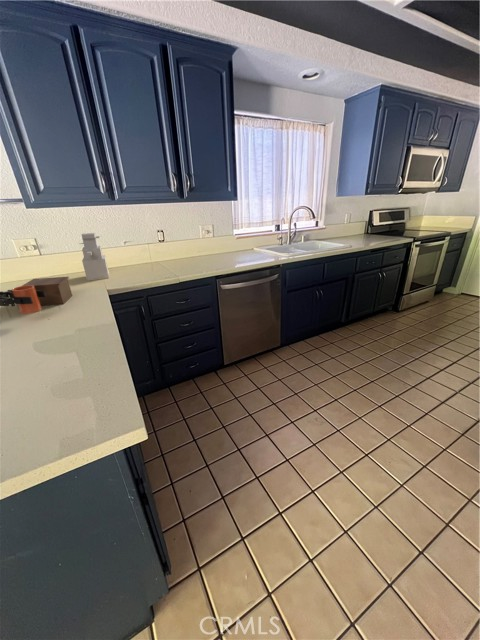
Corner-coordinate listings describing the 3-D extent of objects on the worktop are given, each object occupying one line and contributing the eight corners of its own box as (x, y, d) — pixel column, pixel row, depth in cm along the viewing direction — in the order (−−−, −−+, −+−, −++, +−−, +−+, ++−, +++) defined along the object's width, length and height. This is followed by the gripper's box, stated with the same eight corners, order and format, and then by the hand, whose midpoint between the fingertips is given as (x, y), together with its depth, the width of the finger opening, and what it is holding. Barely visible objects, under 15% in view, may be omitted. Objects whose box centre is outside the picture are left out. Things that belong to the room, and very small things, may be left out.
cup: (18, 315, 108) (9, 291, 104) (22, 309, 114) (13, 286, 110) (40, 311, 111) (32, 288, 107) (42, 306, 117) (35, 284, 113)
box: (72, 295, 145) (67, 278, 140) (63, 304, 133) (57, 285, 128) (40, 298, 141) (34, 280, 137) (28, 307, 129) (21, 288, 125)
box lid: (69, 277, 141) (68, 276, 140) (59, 285, 129) (59, 283, 128) (34, 280, 137) (33, 278, 137) (21, 288, 125) (20, 286, 125)
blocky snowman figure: (109, 271, 191) (100, 231, 180) (108, 280, 172) (98, 235, 160) (89, 273, 187) (78, 232, 175) (86, 282, 167) (74, 236, 155)
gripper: (5, 298, 120) (56, 297, 121) (-37, 315, 102) (23, 314, 102) (-1, 282, 117) (51, 281, 118) (-46, 297, 99) (16, 296, 99)
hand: (38, 296), depth 110 cm, fingers closed on cup, 7 cm apart
